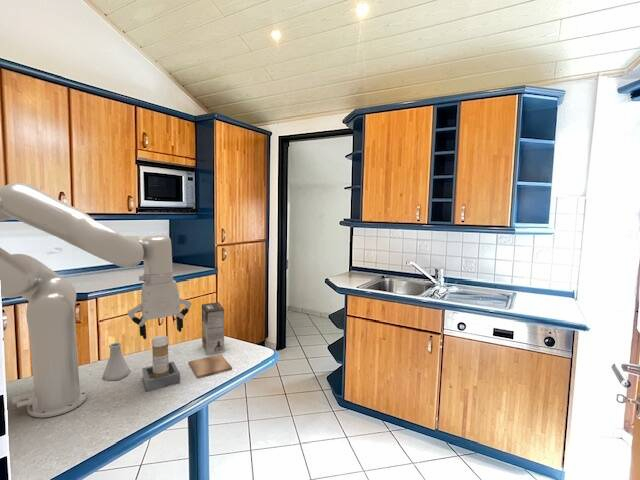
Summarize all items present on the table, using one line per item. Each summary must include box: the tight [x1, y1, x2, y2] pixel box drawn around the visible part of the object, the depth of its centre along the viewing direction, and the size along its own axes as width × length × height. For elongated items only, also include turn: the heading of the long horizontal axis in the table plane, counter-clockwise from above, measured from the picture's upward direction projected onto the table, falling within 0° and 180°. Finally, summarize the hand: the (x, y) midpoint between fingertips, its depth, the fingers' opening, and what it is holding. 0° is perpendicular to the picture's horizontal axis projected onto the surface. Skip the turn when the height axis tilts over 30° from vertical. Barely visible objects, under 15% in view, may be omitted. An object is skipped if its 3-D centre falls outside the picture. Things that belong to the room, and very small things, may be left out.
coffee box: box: [201, 301, 225, 356], centre depth 128 cm, size 9×6×16 cm
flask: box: [101, 342, 131, 382], centre depth 108 cm, size 7×7×10 cm
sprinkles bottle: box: [151, 334, 170, 379], centre depth 106 cm, size 5×5×14 cm
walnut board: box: [187, 353, 233, 379], centre depth 115 cm, size 11×11×1 cm
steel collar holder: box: [141, 361, 181, 392], centre depth 106 cm, size 9×9×3 cm
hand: (162, 333), depth 105 cm, fingers open, 9 cm apart
